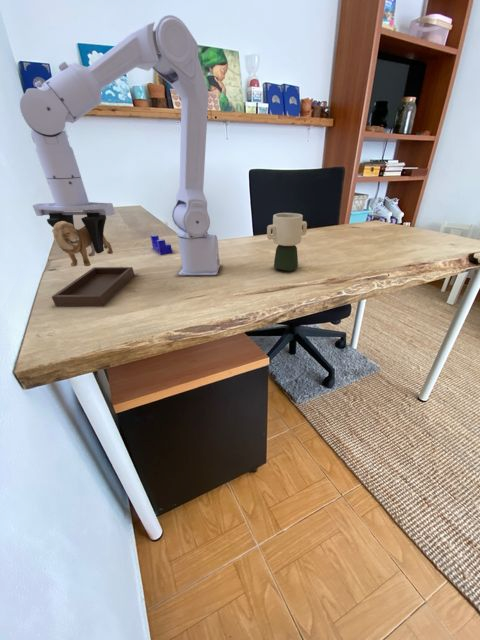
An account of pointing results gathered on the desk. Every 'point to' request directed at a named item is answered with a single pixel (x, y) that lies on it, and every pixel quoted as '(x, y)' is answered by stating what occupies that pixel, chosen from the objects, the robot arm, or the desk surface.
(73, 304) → the brown rectangular tray
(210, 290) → the desk surface
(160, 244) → the cable holder
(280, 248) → the beige and green trophy
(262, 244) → the desk surface
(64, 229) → the lion figurine
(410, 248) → the desk surface
